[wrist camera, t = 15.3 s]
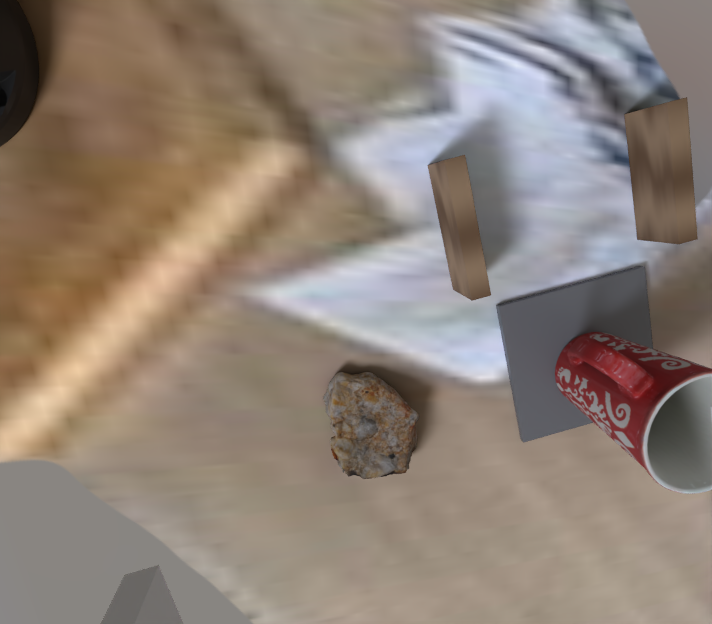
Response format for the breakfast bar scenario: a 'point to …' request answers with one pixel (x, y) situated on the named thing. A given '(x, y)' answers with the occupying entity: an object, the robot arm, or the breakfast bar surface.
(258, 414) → the breakfast bar surface
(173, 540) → the breakfast bar surface
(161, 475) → the breakfast bar surface
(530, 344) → the coaster
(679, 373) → the mug
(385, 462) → the rock
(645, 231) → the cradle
